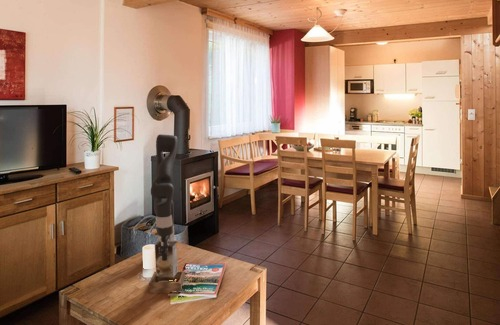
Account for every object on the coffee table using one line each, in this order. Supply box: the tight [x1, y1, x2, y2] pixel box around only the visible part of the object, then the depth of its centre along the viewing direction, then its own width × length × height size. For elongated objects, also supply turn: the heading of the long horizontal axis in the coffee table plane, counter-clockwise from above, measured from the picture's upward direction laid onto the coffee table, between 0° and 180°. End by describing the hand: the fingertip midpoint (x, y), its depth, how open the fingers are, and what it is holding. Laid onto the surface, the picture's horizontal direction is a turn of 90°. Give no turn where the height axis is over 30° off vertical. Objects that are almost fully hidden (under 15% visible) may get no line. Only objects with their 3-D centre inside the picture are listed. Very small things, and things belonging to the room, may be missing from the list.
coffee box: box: [154, 240, 179, 277], centre depth 178 cm, size 9×6×16 cm
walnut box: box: [148, 270, 186, 294], centre depth 180 cm, size 15×12×5 cm
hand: (166, 257), depth 178 cm, fingers closed on coffee box, 7 cm apart
